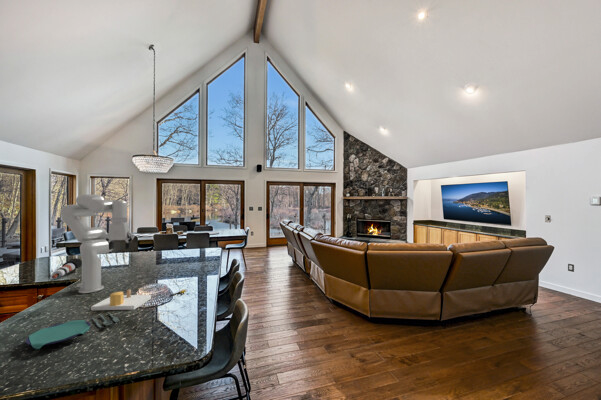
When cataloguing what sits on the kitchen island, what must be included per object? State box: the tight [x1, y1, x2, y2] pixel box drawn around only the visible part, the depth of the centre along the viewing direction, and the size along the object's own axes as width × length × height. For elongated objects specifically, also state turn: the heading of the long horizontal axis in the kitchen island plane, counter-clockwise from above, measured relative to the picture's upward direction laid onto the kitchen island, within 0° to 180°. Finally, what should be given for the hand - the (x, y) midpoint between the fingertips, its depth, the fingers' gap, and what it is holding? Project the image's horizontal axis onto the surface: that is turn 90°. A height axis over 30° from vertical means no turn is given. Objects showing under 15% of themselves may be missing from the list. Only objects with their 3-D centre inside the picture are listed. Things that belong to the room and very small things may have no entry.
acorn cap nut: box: [109, 291, 125, 306], centre depth 136 cm, size 6×6×6 cm
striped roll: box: [51, 258, 82, 279], centre depth 199 cm, size 10×34×10 cm
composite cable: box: [169, 288, 188, 297], centre depth 156 cm, size 10×5×2 cm, turn 131°
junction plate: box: [90, 289, 152, 311], centre depth 141 cm, size 22×16×6 cm
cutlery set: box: [25, 312, 121, 350], centre depth 111 cm, size 20×30×2 cm, turn 141°
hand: (119, 249), depth 153 cm, fingers open, 9 cm apart
